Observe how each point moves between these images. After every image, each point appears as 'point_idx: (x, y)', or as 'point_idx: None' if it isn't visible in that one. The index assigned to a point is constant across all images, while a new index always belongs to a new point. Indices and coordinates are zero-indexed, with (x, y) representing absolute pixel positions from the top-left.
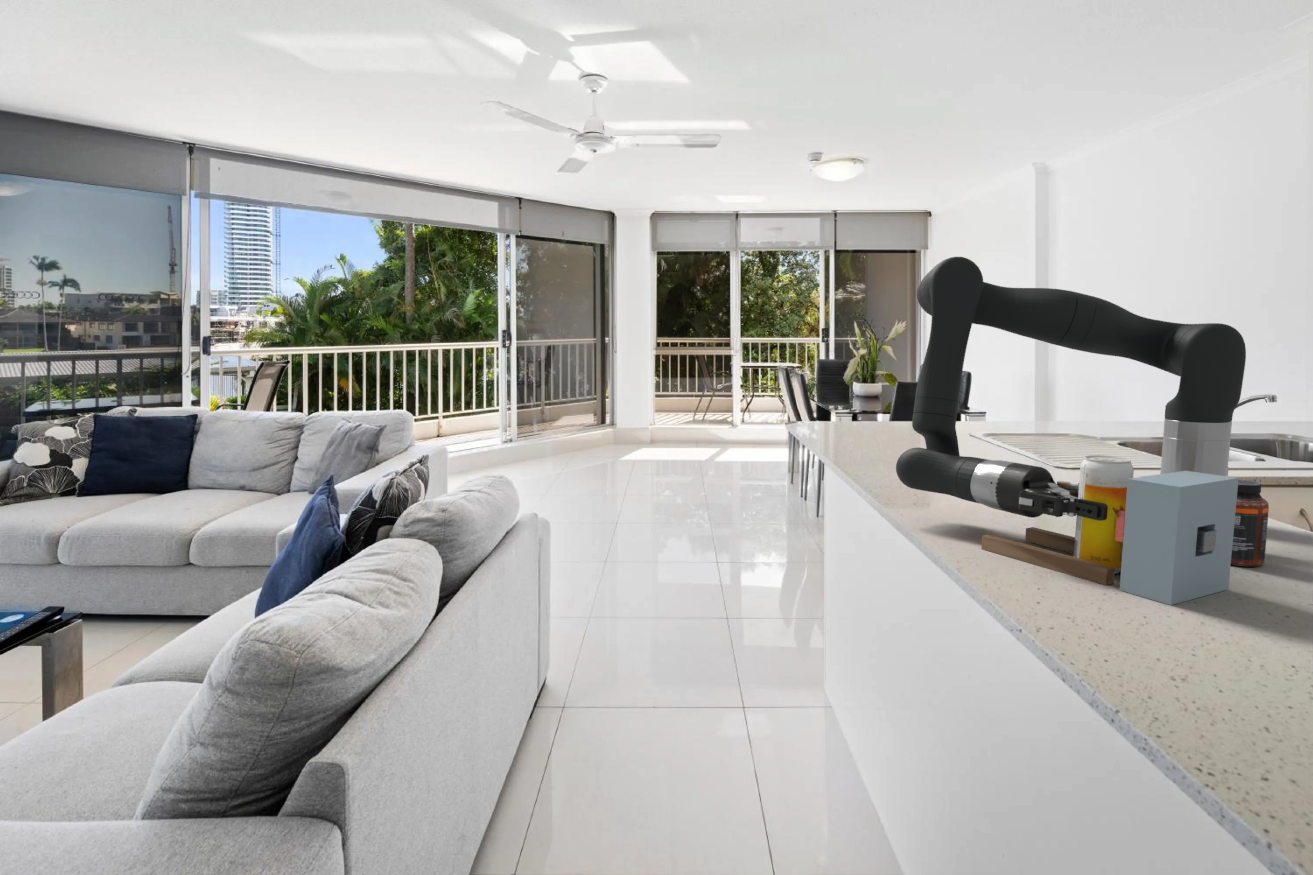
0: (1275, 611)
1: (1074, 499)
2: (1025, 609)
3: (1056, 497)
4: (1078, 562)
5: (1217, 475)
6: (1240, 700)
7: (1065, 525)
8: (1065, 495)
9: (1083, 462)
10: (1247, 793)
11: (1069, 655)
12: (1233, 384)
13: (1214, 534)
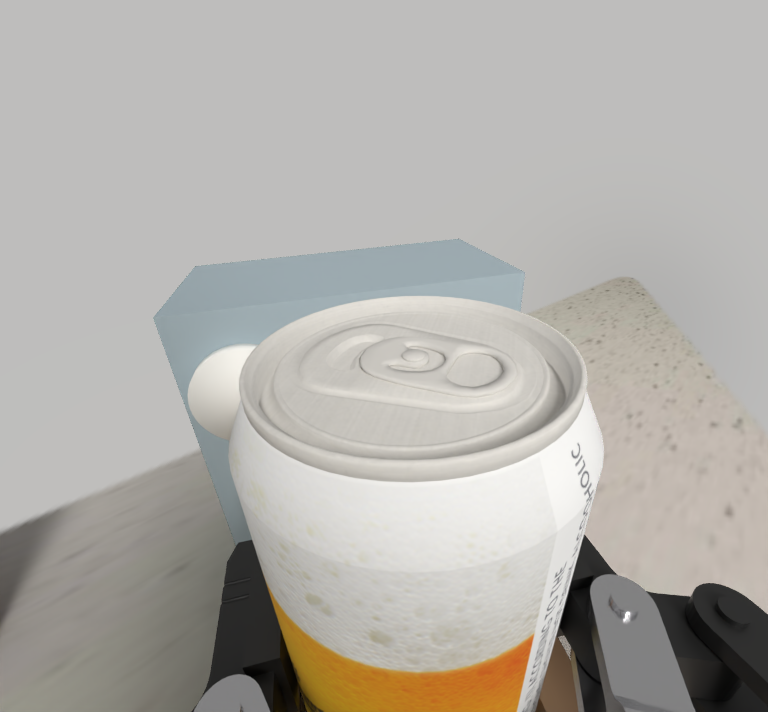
0: None
1: (615, 577)
2: (762, 487)
3: (749, 633)
4: (559, 642)
5: (191, 279)
6: (561, 323)
7: None
8: (658, 684)
9: (591, 427)
10: (625, 286)
11: (699, 374)
12: None
13: None
